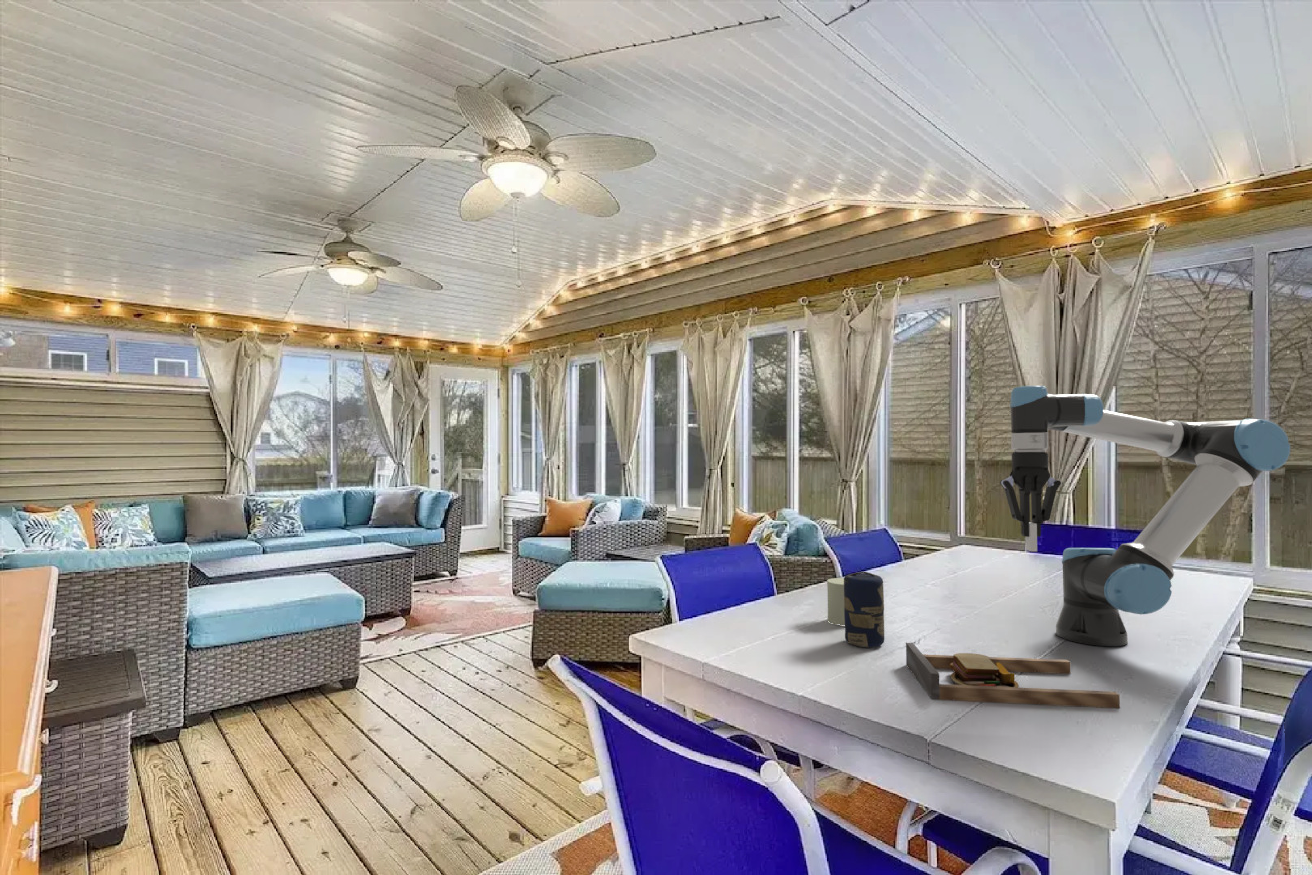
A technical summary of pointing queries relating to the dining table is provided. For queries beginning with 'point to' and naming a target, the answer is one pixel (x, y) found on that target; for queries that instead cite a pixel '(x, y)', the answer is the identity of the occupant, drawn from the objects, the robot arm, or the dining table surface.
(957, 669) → the toy sandwich meal
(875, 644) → the canister
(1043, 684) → the dining table surface
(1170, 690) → the dining table surface
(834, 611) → the can
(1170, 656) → the dining table surface
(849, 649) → the dining table surface
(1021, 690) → the open-ended frame
